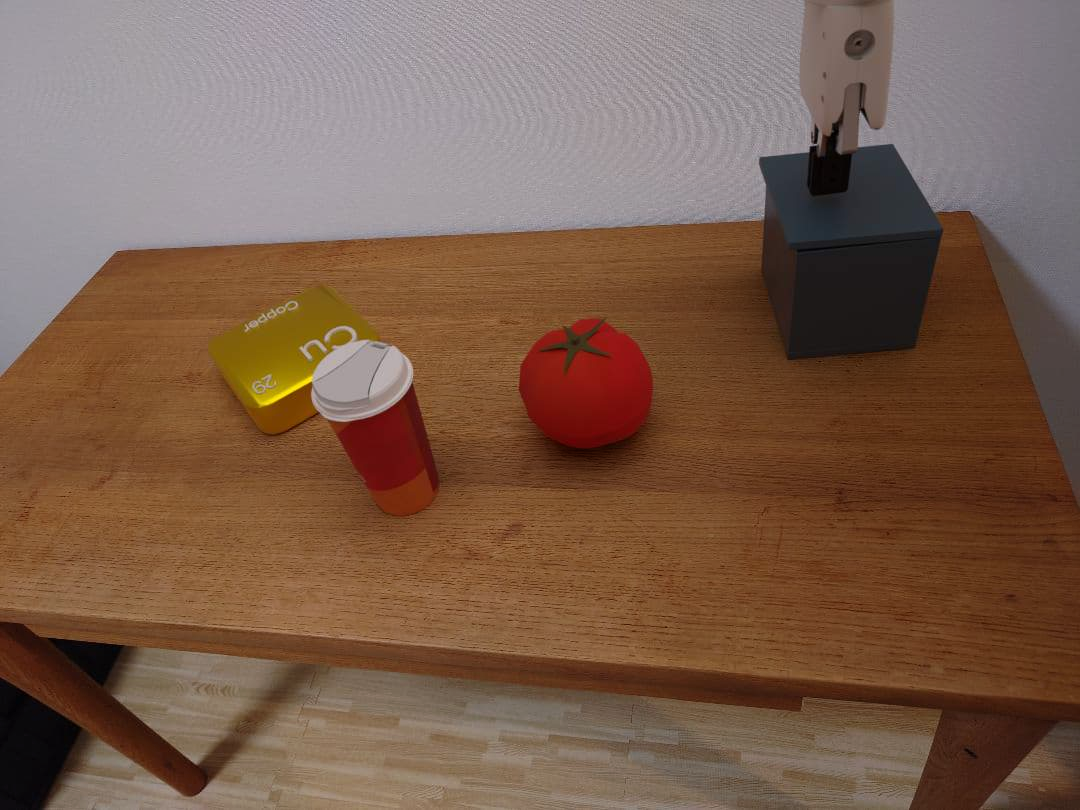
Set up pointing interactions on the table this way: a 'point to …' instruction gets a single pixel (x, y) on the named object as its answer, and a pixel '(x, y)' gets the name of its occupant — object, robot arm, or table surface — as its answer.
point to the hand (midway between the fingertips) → (826, 189)
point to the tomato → (586, 384)
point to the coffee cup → (378, 423)
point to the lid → (849, 202)
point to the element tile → (286, 354)
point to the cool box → (846, 292)
